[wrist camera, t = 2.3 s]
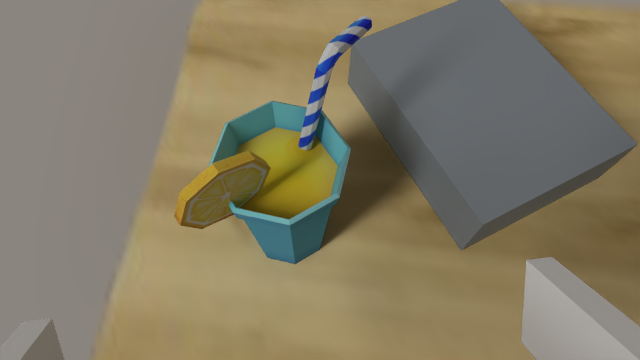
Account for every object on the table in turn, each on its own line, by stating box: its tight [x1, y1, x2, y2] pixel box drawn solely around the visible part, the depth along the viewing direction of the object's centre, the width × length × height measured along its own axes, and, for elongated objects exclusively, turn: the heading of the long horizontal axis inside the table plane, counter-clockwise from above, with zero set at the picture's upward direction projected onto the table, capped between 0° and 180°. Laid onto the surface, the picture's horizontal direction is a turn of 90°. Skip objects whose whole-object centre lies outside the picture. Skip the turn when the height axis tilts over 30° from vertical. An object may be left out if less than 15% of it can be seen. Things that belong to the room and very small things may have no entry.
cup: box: [174, 16, 372, 264], centre depth 28 cm, size 14×8×15 cm, turn 144°
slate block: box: [348, 0, 637, 250], centre depth 36 cm, size 13×17×5 cm
